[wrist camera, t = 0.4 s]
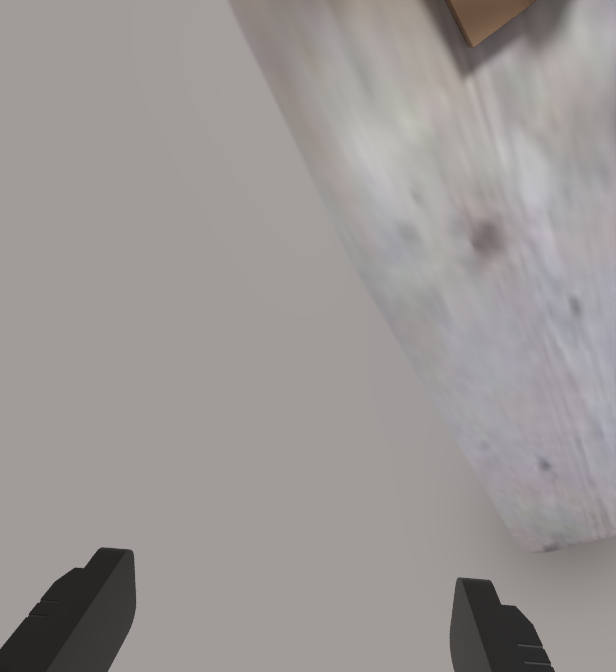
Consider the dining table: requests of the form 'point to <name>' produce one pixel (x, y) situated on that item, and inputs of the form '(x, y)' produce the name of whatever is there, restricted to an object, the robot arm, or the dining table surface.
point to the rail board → (484, 16)
